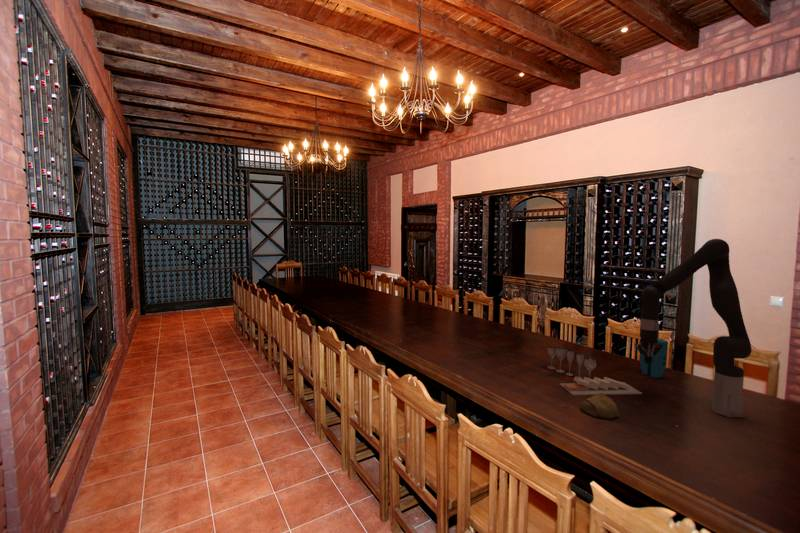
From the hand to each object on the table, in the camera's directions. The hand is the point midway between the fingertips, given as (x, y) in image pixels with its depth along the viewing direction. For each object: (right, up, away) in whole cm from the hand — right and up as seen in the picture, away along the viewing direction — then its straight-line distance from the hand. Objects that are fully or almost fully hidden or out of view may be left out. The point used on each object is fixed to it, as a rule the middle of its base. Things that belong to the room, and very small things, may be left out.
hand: (647, 363), depth 181 cm
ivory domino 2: (-19, -12, +3) cm, 23 cm away
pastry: (-34, -16, -21) cm, 43 cm away
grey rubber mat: (-22, -13, +3) cm, 26 cm away
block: (+17, -12, +22) cm, 31 cm away
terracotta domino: (-29, -12, +2) cm, 31 cm away
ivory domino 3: (-14, -12, +3) cm, 19 cm away
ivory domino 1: (-24, -12, +3) cm, 27 cm away
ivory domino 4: (-9, -12, +4) cm, 15 cm away
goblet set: (-28, -12, +22) cm, 37 cm away
